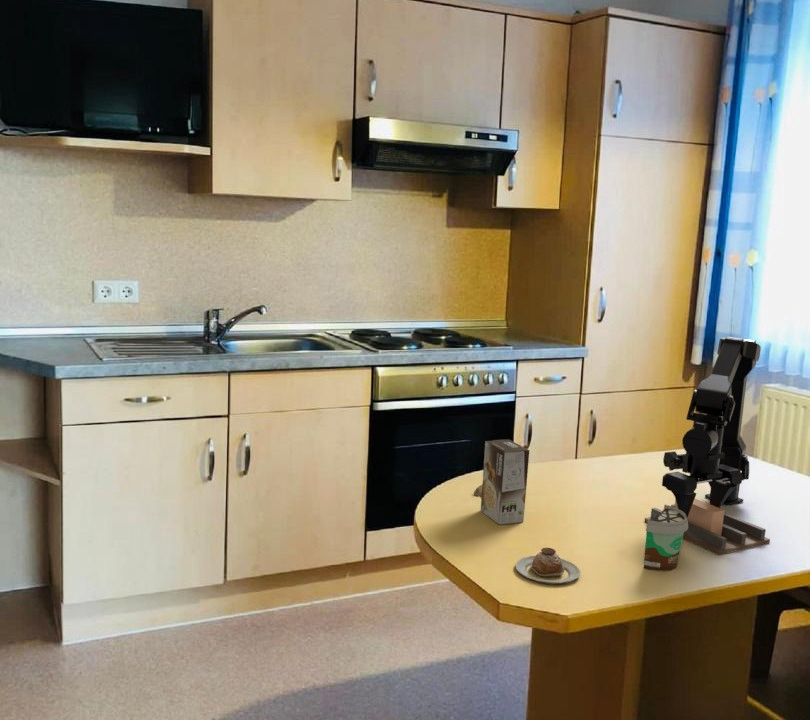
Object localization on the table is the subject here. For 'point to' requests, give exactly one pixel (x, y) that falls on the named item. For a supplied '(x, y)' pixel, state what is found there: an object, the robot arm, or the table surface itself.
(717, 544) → the ribbed brown panel
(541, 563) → the pastry
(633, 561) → the table surface
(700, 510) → the terracotta strip
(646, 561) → the food container
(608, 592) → the table surface
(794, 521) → the table surface
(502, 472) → the coffee box
